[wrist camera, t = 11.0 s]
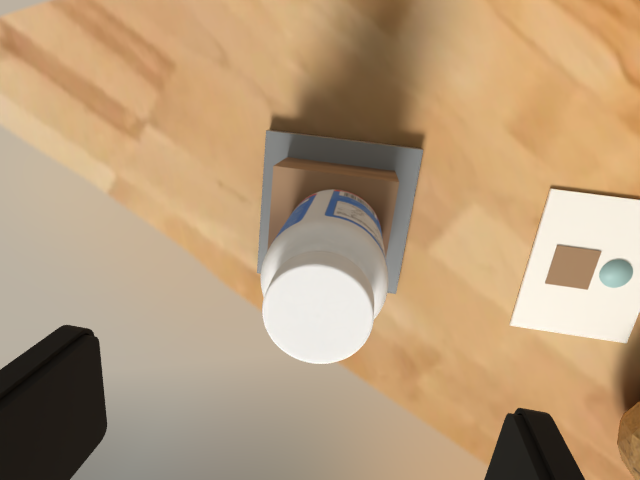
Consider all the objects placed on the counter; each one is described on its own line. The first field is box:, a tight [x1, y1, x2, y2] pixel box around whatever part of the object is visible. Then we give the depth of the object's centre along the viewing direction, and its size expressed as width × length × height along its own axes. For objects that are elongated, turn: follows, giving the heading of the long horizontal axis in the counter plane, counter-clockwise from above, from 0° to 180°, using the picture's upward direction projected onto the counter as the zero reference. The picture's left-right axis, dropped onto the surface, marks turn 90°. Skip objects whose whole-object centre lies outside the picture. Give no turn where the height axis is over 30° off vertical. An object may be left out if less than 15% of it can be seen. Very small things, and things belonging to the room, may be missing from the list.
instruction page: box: [509, 188, 640, 343], centre depth 27 cm, size 10×8×1 cm
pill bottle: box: [261, 189, 388, 364], centre depth 19 cm, size 6×5×10 cm
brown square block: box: [267, 157, 399, 256], centre depth 25 cm, size 7×7×4 cm
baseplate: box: [257, 130, 423, 294], centre depth 28 cm, size 10×10×1 cm
